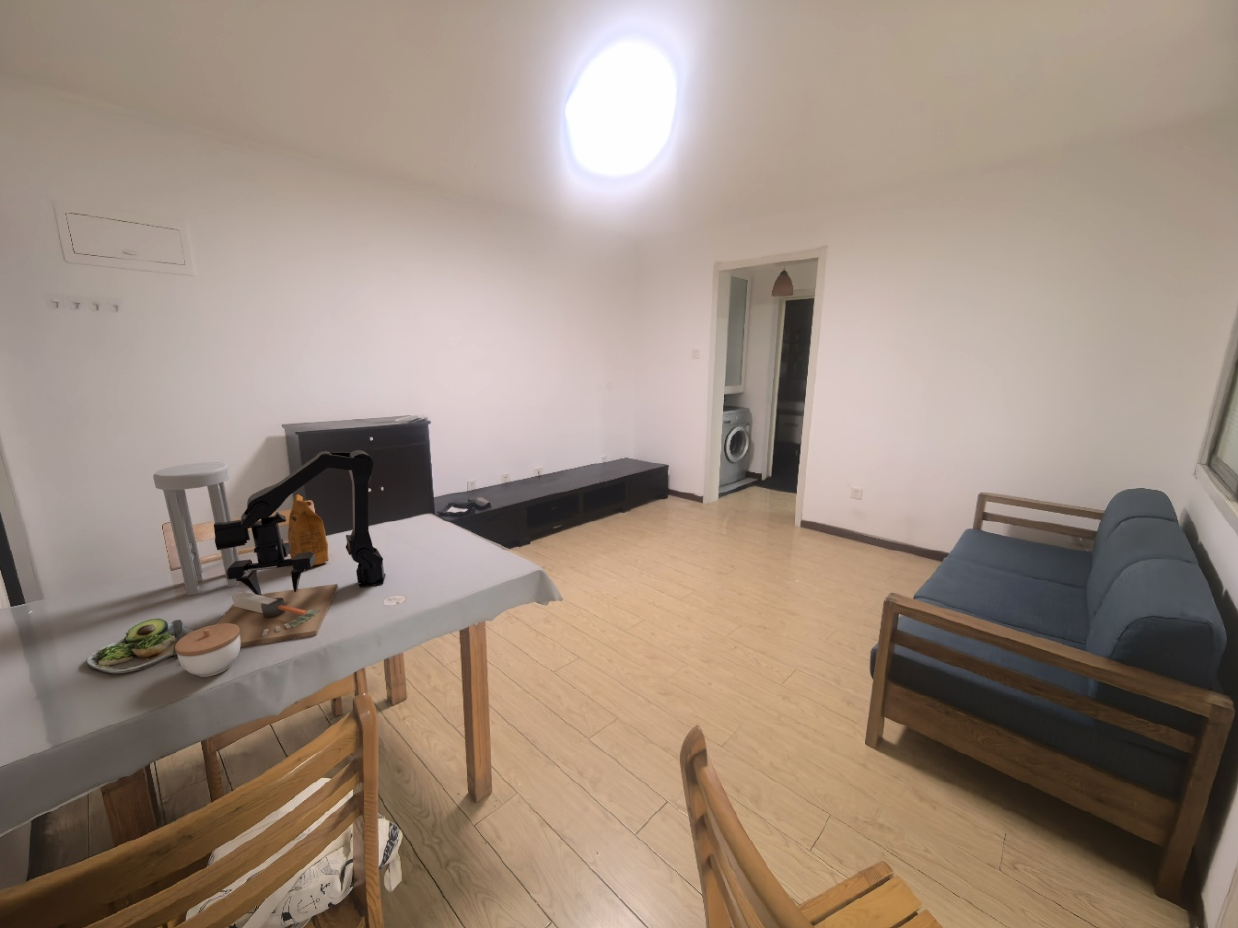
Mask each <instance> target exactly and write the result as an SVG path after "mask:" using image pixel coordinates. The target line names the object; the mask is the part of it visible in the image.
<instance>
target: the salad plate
mask: <svg viewBox="0 0 1238 928" xmlns="http://www.w3.org/2000/svg"><path fill="white" fill-rule="evenodd" d="M193 631H194V630H193V629H190V628H187V627H183V621H182V619H175V620H173V621H172V622H171V623H168V622H167V621H166V620H164V619H163V618H150V619H147V620H144V621H141V622H139V623H137V624H135V625H133V626H132V627H130V628H129V629H128V630H127V632H125V637H124V638H122V639H120V640H116V641H115V642H112V643H110V644H107V645H104V646H102V647H101V648H97V649H96V650H95V651H93V652H92V653H90V654H89V656H88V657H86V660H85V661H86V664H87V666H88V667H89V668H90V669H91V670H98V671H101V672H103V673H109V674H127V673H132V672H137V671H141V670H144V669H147V668H149V667H152V666H154V665H157V664H158V663H160V662H162V661H165V660H166V659H168V658H171V657H173V656H177V653H176V651H175V645H176V643H177V642H178V641H179V640H180V639H181V638H183V637H184V636H186V635H187V634H189V633H191V632H193ZM136 659H142V660H146V661H144V662H143V663H141V664H137V665H133V666H129V667H122V668H121V667H120V668H119V667H116V668H115V667H112V666H116V665H118V664H123V663H126V662H128V661H133V660H136Z"/></svg>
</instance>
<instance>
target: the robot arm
mask: <svg viewBox="0 0 1238 928" xmlns="http://www.w3.org/2000/svg"><path fill="white" fill-rule="evenodd" d="M374 465H375V463H374V459H373V458H372V457H371V456H370V455H369V454H368V453H367V452H365V451H364V450H360V449H357V450H353V451H351V452H349V451H348V452H346V451H328V450H327V451H326V450H324V451H320V452H318V453H317V454H316V456H314V457H313V458H311V459H310V460H308V461H307V462H306V463H304V464H303V465H301V466H300V467H299V468H297V469H295V470H294V471H293V472H292V473H290V474H289V475H287V476H286V477H284V478H283V479H282V480H280V481H279V482H277V483H274V484H272V485H270V486H266V487H264V488H263V489H260V490H259V491H257V492H255V493H252V494H251V495H249V497H248V499H247V502H246V508H245V510H244V512H243V513H242V515H241V516H240V519H235V520H231V521H229V522H218V523H215V522H214V523H213V530H214V544H215V548H216V550H217V551H220V550H223V549H228V548H233V547H237V548H238V547H242V546H246V544H247V543H248V541H250V540H251V536H250V530H249V529H251V533H252V538H253V544H254V547H255V548H253V552H254V554H256V558H257V562H253V560H252V559H244V560H243V559H241V560H239V561H235V562H234V563H233V564H232V565H231V566H230V567H229V568H228V569H227V570H226V575H227V579H236V581H239V582H241V583H242V584H244V585H245V586H246V587H247V588H248V589H250V591H252V593H253V594H256V595H260V596H261V594H262V590H261V586H260V583H259V580H258V575H257V572H258V571H260V570H261V571H262V570H268V569H277V568H286V567H292V570H291V571H290V576H291V583H292V590H294V592H297V589H299V585H300V580H301V576H302V573H304V572H305V571H306V570H309V569H311V568H312V567H313V566H312V565H313V564H314V562H315V560H316V559H315V555H314V553H312V552H306V553H298V554H297V555H296V556H295V558H292V559H291V558H287V557H289V555H290V543H289V542H284V540H283V538H282V537H281V531H280V525H279V524H280V523H286V521H287V519H286V516H285V515H283V514H281V513H280V512H279V511H277V510H279V508H281V506H282V505H283V504H284V502H285V501H286V500H287V499H288V498H289V497H290V496H291V495H292V494H294V493H295V492H296V491H298V490H299V489H301V488H302V487H303V486H305V485H306V484H308V483H309V482H310V481H312V480H313V479H314V478H316V477H317V476H319V475H320V474H321V473H323V472H324V471H326V470H327V469H336V470H344V471H345V470H346V471H348V473H349V475H350V480H351V484H352V485H351V486H352V487H351V490H352V531H351V534H346V535H345V539H346V544H345V550H346V552H347V554H348V555H349V556H351V559H352V560H353V562H355V563H357V568H356V571H355V572H356V579H357V583H358V587H359V588H364V587H372V586H373V587H374V586H379V585H383V584H384V582H385V578H386V575H387V574H386V573H385V570H384V563H383V562H384V558H383V556H382V555H381V553H380V551H379V550H378V548H376V547H374V546H373V541H372V537H371V534H370V529H369V527H370V526H369V523H370V522H369V520H370V519H369V517H370V516H369V483H370V481H371V477H372V474H373V469H374ZM273 514H274V515H273ZM226 575H225V576H226Z"/></svg>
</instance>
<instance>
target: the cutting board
mask: <svg viewBox="0 0 1238 928" xmlns="http://www.w3.org/2000/svg"><path fill="white" fill-rule="evenodd" d="M338 588H339V585H338V583H335V584H333V583H332V584H327V585H317V586H313V587H312V586H311V587H302V588H298V589H297V592H294V589H289V590H281V591H274V592H266V593H261V596H265V597H269V598H283V599H284V604H285V606H288V607H293V608H297V609H301V610H306V611H307V613H306V614H305V615H301V614H297V613H293V612H289V611H285V612H284V613H283V614H281V615H279V616H276V617H271V618H265V617H263V613H259V612H255V611H251V610H247V609H243V608H239V607H235V606H234V603H233V604H232V605H231V606H230V607H229V609H228V610H227V611H226V612H225V614H224V615H223V616H222V617H221V618H220V620H219V621H218V622H216V624H222V623H231V624H235V625H237V626H238V627H239V629H240V638H241V646H240V648H244V647H250V646H258V645H263V644H269V643H275V642H282V641H287V640H295V639H300V638H305V637H312V636H317V635H318V633H319V630H320V629H321V626H322V624H323V622H324V619H326V618H325V617H326V615H327V613H328V610H329V608H330V606H331V604H332V602H333V600H334V597H335V596H336V593H337V591H338Z"/></svg>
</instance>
